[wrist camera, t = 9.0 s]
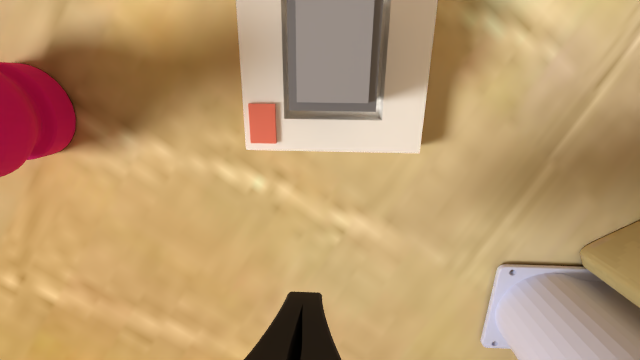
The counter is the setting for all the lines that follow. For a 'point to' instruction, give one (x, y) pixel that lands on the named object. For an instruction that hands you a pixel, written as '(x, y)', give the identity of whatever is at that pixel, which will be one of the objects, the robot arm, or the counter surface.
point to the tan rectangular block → (617, 261)
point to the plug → (333, 54)
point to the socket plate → (336, 126)
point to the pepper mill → (31, 116)
